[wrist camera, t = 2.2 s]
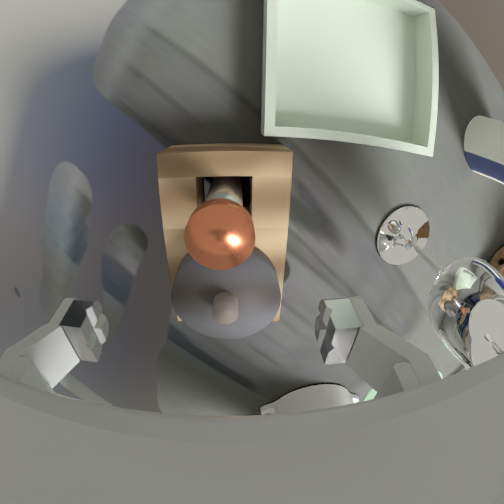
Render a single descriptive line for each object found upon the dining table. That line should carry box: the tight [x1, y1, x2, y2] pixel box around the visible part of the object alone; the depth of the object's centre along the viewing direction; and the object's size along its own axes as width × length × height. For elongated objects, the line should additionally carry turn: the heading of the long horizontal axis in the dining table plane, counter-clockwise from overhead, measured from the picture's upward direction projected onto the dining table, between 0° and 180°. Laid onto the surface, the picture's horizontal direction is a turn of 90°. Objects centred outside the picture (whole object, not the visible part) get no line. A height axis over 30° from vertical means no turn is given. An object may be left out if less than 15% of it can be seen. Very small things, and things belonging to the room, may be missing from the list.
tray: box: [261, 0, 439, 157], centre depth 18 cm, size 16×16×4 cm
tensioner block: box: [156, 143, 293, 339], centre depth 23 cm, size 16×10×9 cm, turn 179°
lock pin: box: [184, 176, 255, 270], centre depth 20 cm, size 4×4×11 cm
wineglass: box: [377, 206, 504, 369], centre depth 20 cm, size 8×8×20 cm
